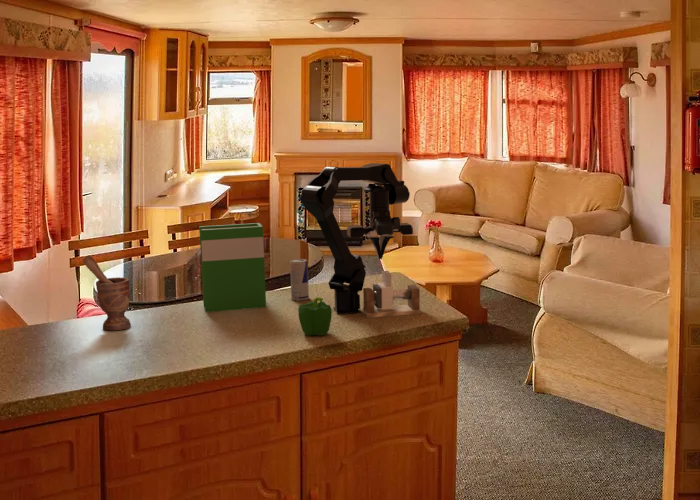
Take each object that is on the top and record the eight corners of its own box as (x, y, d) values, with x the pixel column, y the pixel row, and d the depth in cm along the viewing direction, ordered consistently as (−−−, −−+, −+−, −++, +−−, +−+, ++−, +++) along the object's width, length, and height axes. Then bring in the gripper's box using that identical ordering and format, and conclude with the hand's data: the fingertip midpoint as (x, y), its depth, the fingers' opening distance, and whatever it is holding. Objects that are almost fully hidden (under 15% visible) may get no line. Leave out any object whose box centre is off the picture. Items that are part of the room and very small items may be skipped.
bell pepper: (294, 332, 201) (293, 294, 200) (323, 327, 205) (322, 291, 203) (306, 340, 194) (305, 301, 192) (336, 335, 197) (335, 297, 195)
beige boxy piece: (382, 309, 214) (381, 275, 213) (377, 304, 220) (376, 270, 219) (392, 308, 215) (392, 274, 213) (387, 303, 221) (386, 269, 219)
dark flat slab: (377, 308, 214) (377, 288, 213) (373, 303, 220) (372, 284, 219) (381, 308, 215) (381, 288, 214) (377, 303, 220) (377, 284, 219)
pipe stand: (368, 317, 214) (367, 293, 212) (362, 311, 220) (362, 287, 219) (420, 313, 216) (420, 289, 215) (413, 307, 223) (413, 284, 222)
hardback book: (205, 312, 223) (200, 230, 219) (203, 306, 230) (199, 226, 226) (266, 307, 227) (262, 226, 223) (262, 301, 234) (259, 223, 230)
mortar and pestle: (87, 334, 203) (80, 260, 200) (88, 325, 211) (82, 254, 208) (132, 330, 206) (127, 256, 203) (132, 321, 214) (127, 251, 211)
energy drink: (312, 297, 237) (311, 259, 235) (302, 301, 233) (300, 262, 230) (298, 295, 240) (296, 258, 238) (287, 299, 235) (286, 261, 233)
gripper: (353, 211, 216) (354, 266, 219) (418, 208, 220) (418, 262, 222) (346, 206, 227) (347, 258, 230) (407, 203, 230) (407, 255, 233)
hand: (380, 258), depth 228 cm, fingers closed
